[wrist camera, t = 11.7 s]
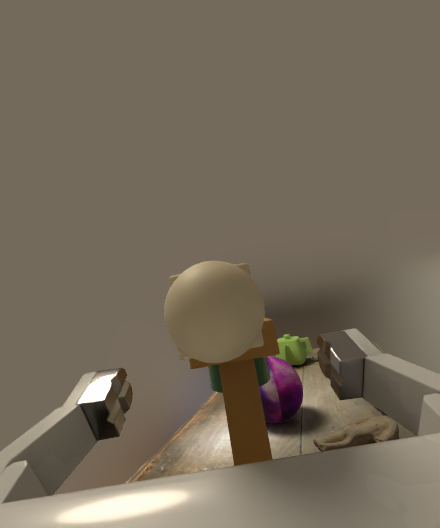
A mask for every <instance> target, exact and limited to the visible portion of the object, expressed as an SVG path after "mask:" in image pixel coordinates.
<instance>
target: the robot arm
mask: <svg viewBox="0 0 440 528" xmlns="http://www.w3.org/2000/svg"><path fill="white" fill-rule="evenodd" d="M317 344H318V345H319V347H320V350H319V351H318V361H319V365H320V368H321V370H322V372H323V374H324V375H325V377H327V378H329V379H330V380H331V387H332V388H333V390H334V392H335V393H336V395H337V396H338V398H339V400H346V399H353V398H361V397H363V399H365V400H366V401H368V402H369V403H370V404H372V405H373V406H375V407H376V408H378V409H379V410H381V411H382V412H383V413H385V414H386V415H388V416H389V417H391V418H392V419H394V420H395V421H396V422H398V423H399V424H401V425H402V426H404V427H405V428H407V429H408V430H409V431H411V432H412V433H414V434H415V435H417V436H416V437H410V438H404V439H398V440H391V441H385V442H379V443H373V444H366V445H360V446H354V447H348V448H342V449H335V450H329V451H323V452H317V453H311V454H305V455H299V456H292V457H286V458H280V459H274V460H268V461H262V462H255V463H249V464H243V465H237V466H231V467H224V468H218V469H212V470H206V471H200V472H193V473H187V474H181V475H175V476H169V477H162V478H156V479H150V480H144V481H138V482H131V483H125V484H119V485H113V486H107V487H101V488H94V489H88V490H82V491H76V492H70V493H63V494H57V495H53V494H54V493H55V491H56V490H57V489H58V488H59V487H60V486H61V484H62V483H63V482H64V481H65V480H66V479H67V477H68V476H69V475H70V474H71V473H72V471H73V470H74V469H75V467H77V465H78V464H79V463H80V462H81V461H82V460H83V458H84V457H85V456H86V455H87V454H88V452H89V451H90V450H91V449H92V448H93V446H94V445H95V444H96V443H97V441H98V440H103V439H109V438H114V437H119V436H120V434H121V431H122V428H123V425H124V423H125V420H126V419H125V416H124V414H125V413H126V412H127V411H128V410H129V409H130V406H131V402H132V387H131V385H130V383H128V382H127V381H126V380H125V379H126V376H127V374H126V371H125V369H123V368H116V369H109V370H103V371H97V372H90V373H86V374H84V375H83V377H82V378H81V380H80V381H79V383H78V384H77V386H76V387H75V388H74V390H73V391H72V393H71V394H70V396H69V397H68V399H67V400H66V402H65V403H64V405H63V406H62V407H61V408H57V409H56V410H54V411H53V412H52V413H51V414H49V415H48V416H47V417H45V418H44V419H43V420H42V421H40V422H39V423H37V424H36V425H35V426H34V427H32V428H31V429H30V430H28V431H27V432H26V433H24V434H23V435H22V436H21V437H19V438H18V439H17V440H15V441H14V442H13V443H11V444H10V445H9V446H7V447H6V448H5V449H3V450H2V451H1V452H0V528H440V374H438V373H435V372H433V371H430V370H428V369H425V368H423V367H420V366H418V365H415V364H412V363H410V362H407V361H405V360H402V359H400V358H397V357H395V356H392V355H389V354H383V353H381V352H380V351H379V350H378V349H377V348H376V347H375V346H374V345H373V344H372V343H371V342H370V341H369V340H368V339H367V338H366V337H365V336H364V335H362V334H361V333H360V332H359V331H358V330H357V329H355V328H353V329H348V330H343V331H339V332H333V333H327V334H322V335H318V337H317Z"/></svg>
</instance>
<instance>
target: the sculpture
mask: <svg viewBox="0 0 440 528" xmlns="http://www.w3.org/2000/svg"><path fill="white" fill-rule="evenodd" d="M398 439H399V429H398V425H397V423H396V422H395V421H394V420H392V419H391V418H390V417H386V416H377V417H375V418H367V419H363V420H359V421H357V422H356V424H355V425H353V424H348V425H345V426H344V427H343V428H342V429H340V430H339V431H337V432H334V433H331V434H327V435H324V436H320V437H317V438H314V439H313V441H314V444H315V446H317V447H318V449H319V450H320V451H322V452H323V451H329V450H335V449H342V448H348V447H354V446H360V445H366V444H373V443H379V442H385V441H391V440H398Z"/></svg>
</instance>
